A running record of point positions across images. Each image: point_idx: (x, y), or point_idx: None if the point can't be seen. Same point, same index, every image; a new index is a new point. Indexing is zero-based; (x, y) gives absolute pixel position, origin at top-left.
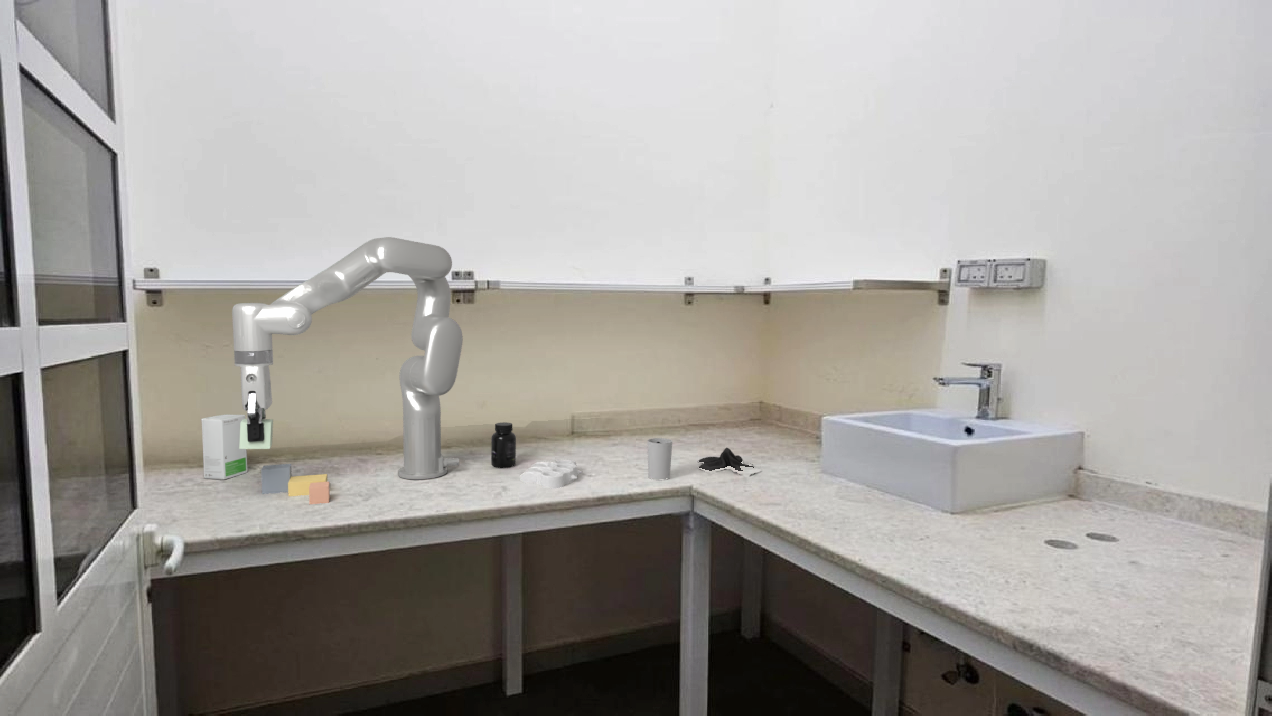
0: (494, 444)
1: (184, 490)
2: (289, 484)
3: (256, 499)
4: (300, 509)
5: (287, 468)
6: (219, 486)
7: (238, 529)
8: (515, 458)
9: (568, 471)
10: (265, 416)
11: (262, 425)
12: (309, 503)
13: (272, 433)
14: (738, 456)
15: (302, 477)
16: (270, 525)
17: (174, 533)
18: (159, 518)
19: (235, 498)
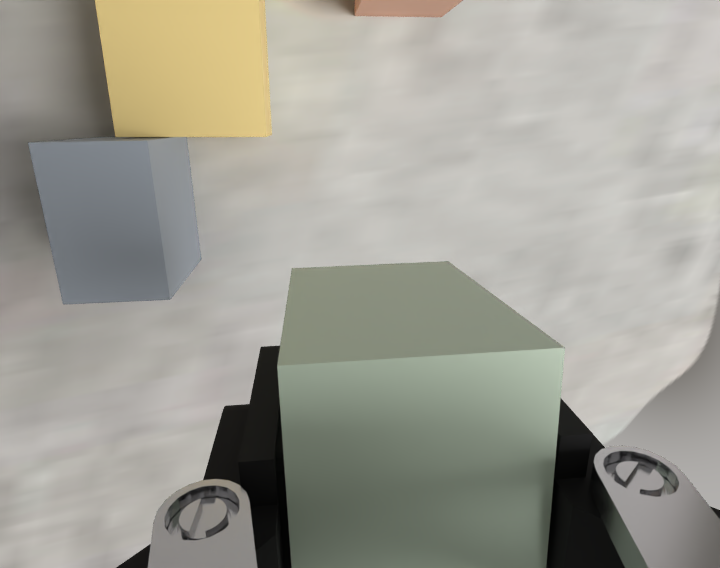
0: None
1: (81, 546)
2: (265, 129)
3: (284, 267)
4: (507, 54)
5: (150, 153)
6: (33, 449)
7: (662, 259)
8: None
9: None
10: (171, 508)
11: (576, 425)
12: (441, 16)
13: (302, 298)
14: None
15: (149, 65)
16: (672, 155)
17: (608, 433)
18: None
19: (246, 350)
